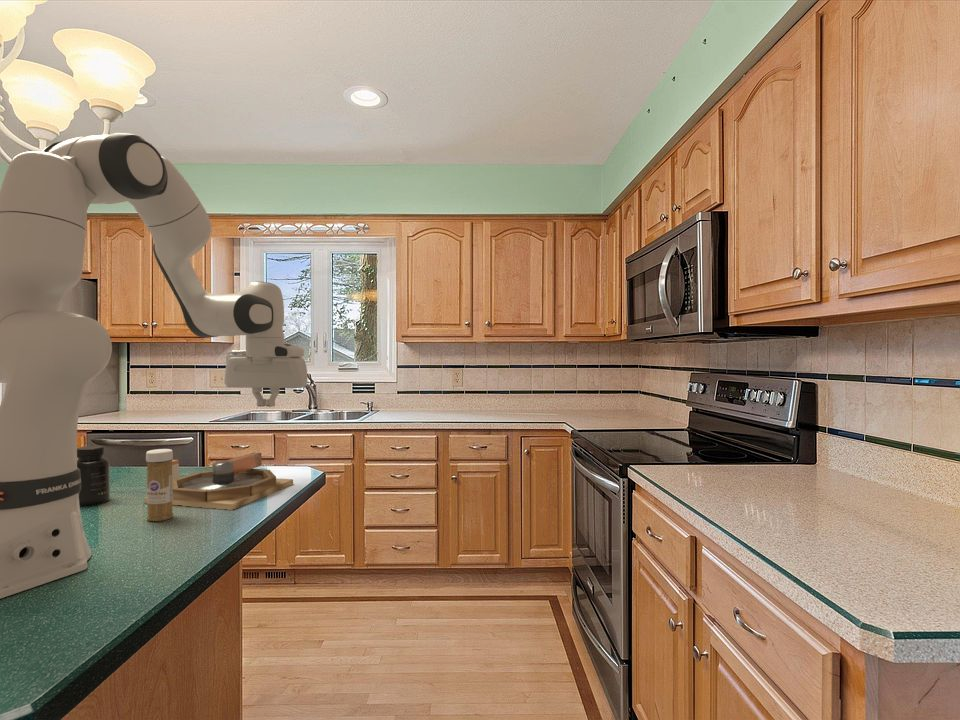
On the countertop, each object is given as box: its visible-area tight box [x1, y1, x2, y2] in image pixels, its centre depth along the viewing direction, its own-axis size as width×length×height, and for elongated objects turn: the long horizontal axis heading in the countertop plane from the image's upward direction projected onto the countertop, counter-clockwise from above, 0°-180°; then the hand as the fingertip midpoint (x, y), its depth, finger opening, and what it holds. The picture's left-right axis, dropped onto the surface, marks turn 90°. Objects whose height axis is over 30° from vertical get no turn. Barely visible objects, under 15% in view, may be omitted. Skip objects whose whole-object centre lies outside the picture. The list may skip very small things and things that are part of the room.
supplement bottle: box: [77, 445, 111, 507], centre depth 119 cm, size 7×7×12 cm
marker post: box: [172, 459, 180, 480], centre depth 130 cm, size 2×2×7 cm
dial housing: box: [143, 468, 294, 511], centre depth 127 cm, size 22×22×3 cm
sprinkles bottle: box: [145, 448, 174, 522], centre depth 108 cm, size 5×5×14 cm
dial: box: [181, 452, 263, 490], centre depth 128 cm, size 21×17×6 cm
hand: (266, 406), depth 134 cm, fingers closed
